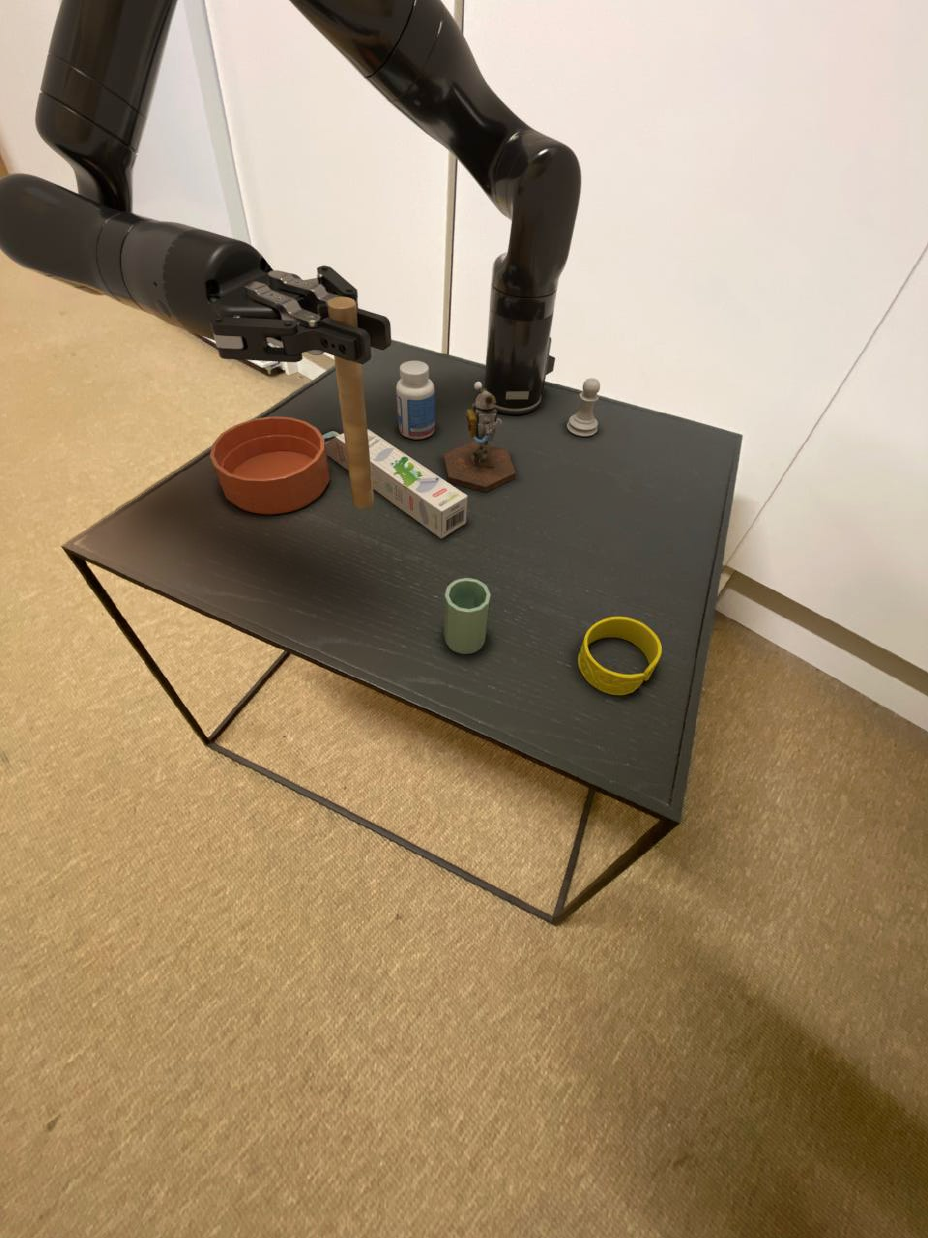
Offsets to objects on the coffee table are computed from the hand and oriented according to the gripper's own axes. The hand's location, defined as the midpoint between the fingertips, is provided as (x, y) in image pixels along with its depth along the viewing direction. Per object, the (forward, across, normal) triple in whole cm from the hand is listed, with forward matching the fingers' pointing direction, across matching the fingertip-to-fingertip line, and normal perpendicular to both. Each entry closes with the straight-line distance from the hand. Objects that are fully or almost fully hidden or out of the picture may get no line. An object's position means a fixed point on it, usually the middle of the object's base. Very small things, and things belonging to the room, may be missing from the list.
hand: (377, 341), depth 41 cm
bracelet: (+24, +5, +29) cm, 38 cm away
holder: (+9, 0, +29) cm, 30 cm away
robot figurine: (-4, +27, +29) cm, 40 cm away
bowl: (-26, +10, +29) cm, 40 cm away
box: (-14, +18, +30) cm, 37 cm away
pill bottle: (-16, +30, +29) cm, 45 cm away
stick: (-3, 0, +16) cm, 16 cm away
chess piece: (+5, +45, +29) cm, 53 cm away
